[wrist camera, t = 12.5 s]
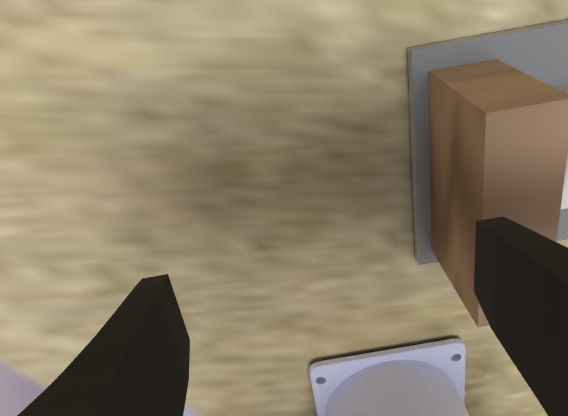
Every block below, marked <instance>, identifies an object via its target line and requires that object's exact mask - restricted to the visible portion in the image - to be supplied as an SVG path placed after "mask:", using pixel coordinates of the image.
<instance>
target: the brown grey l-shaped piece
mask: <svg viewBox="0 0 568 416" xmlns="http://www.w3.org/2000/svg"><path fill="white" fill-rule="evenodd" d="M428 74H429V129H430V184H431V240H432V251H433V253H434V255H435V256H436V258H437V260H438V261H439V263H440V265H441V266H442V268H443V270H444V271H445V273H446V275H447V276H448V278H449V280H450V281H451V283H452V285H453V286H454V288H455V290H456V291H457V293H458V295H459V296H460V298H461V300H462V302H463V303H464V305H465V307H466V308H467V310H468V312H469V313H470V315H471V317H472V318H473V320H474V322H475V323H476V325H477V327H481V326H487V325H489V323H488V321H487V319H486V317H485V315H484V313H483V310H482V308H481V306H480V304H479V302H478V300H477V297H476V295H475V293H474V266H475V236H476V221H479V220H485V219H491V218H496V217H505V218H507V219H510V220H512V221H514V222H516V223H518V224H520V225H523V226H525V227H527V228H529V229H531V230H533V231H535V232H537V233H539V234H541V235H543V236H545V237H547V238H549V239H551V240H553V241H555V242H557V234H558V226H559V218H560V210H561V209H567V208H568V86H562V87H556V88H554V87H552V86H550V85H548V84H546V83H544V82H542V81H540V80H538V79H536V78H534V77H532V76H530V75H528V74H525V73H523V72H521V71H519V70H517V69H515V68H513V67H511V66H509V65H507V64H505V63H503V62H501V61H499V60H497V59H492V60H487V61H481V62H475V63H470V64H464V65H458V66H453V67H447V68H441V69H436V70H430V71H428Z"/></svg>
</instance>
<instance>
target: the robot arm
mask: <svg viewBox="0 0 568 416" xmlns="http://www.w3.org/2000/svg"><path fill="white" fill-rule="evenodd" d="M474 293H475V295H476V297H477V300H478V302H479V304H480V306H481V308H482V310H483V313H484V315H485V317H486V319H487V321H488V323H489V325H490V327H491V329H492V330H493V332H494V333H495V335H496V337H497V338H498V340H499V341H500V343H501V344H502V346H503V347H504V349H505V350H506V352H507V354H508V355H509V357H510V358H511V360H512V361H513V363H514V364H515V366H516V367H517V369H518V370H519V372H520V373H521V375H522V376H523V378H524V379H525V381H526V382H527V384H528V385H529V387H530V388H531V390H532V391H533V393H534V394H535V396H536V397H537V399H538V401H539V402H540V404H541V405H542V407H543V408H544V410H545V411H546V413H547V415H548V416H568V248H567V247H565V246H563V245H561V244H559V243H557V242H555V241H553V240H551V239H549V238H547V237H545V236H543V235H541V234H539V233H537V232H535V231H533V230H531V229H529V228H527V227H525V226H523V225H520V224H518V223H516V222H514V221H512V220H510V219H507V218H505V217H496V218H491V219H485V220H479V221H476V236H475V266H474ZM189 351H190V339H189V336H188V333H187V330H186V327H185V324H184V321H183V318H182V315H181V312H180V309H179V306H178V303H177V300H176V297H175V294H174V291H173V288H172V285H171V282H170V279H169V276H168V274H166V275H160V276H155V277H149V278H143V279H141V281H140V282H139V283H138V284H137V285H136V286H135V288H134V289H133V290H132V291H131V293H130V294H129V295H128V296H127V298H126V299H125V300H124V301H123V303H122V304H121V305H120V306H119V308H118V309H117V310H116V311H115V313H114V314H113V315H112V316H111V318H110V319H109V320H108V321H107V322H106V324H105V325H104V326H103V327H102V328H101V330H100V331H99V332H98V333H97V335H96V336H95V337H94V338H93V339H92V340H91V342H90V343H89V344H88V345H87V346H86V347H85V348H84V349H83V350H82V351H81V353H80V354H79V355H78V356H77V357H76V358H75V359H74V360H73V361H72V362H71V364H70V365H69V366H68V367H67V368H66V369H65V370H64V371H63V372H62V373H61V374H60V375H59V377H58V378H57V379H56V380H55V381H54V382H53V383H52V384H51V385H50V386H49V387H48V388H47V389H46V390H45V391H43V392H42V393H41V394H40V395H39V396H38V397H37V398H36V399H35V400H34V401H33V402H32V403H31V404H30V405H28V406H27V407H26V408H25V409H24V410H23V411H22V412H21V413H20V414H19V415H17V416H183V412H184V406H185V400H186V393H187V387H188V380H189ZM455 354H456V355H455ZM453 355H455V356H453ZM465 359H466V347H465V345H464V343H463V341H462V340H461V339H458V338H457V339H448V340H442V341H436V342H431V343H425V344H419V345H413V346H407V347H401V348H395V349H389V350H383V351H377V352H372V353H366V354H360V355H354V356H348V357H342V358H336V359H330V360H324V361H319V362H315V363H313V364H312V365H311V366H310V367H309V373H310V378H311V384H312V389H313V394H314V400H315V405H316V411H317V416H469V414H468V412H467V410H466V408H465V406H464V399H465ZM319 377H323V378H319Z"/></svg>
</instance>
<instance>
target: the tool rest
mask: <svg viewBox="0 0 568 416" xmlns="http://www.w3.org/2000/svg"><path fill="white" fill-rule="evenodd" d="M407 54H408V80H409V107H410V134H411V161H412V188H413V215H414V241H415V258H416V260H417V262H418V264H419V265H420V264H426V263H432V262H437V261H438V260H437V258H436V256H435V255H434V253H433V251H432V240H431V184H430V129H429V74H428V71H430V70H436V69H441V68H447V67H453V66H458V65H464V64H470V63H475V62H481V61H487V60H492V59H497V60H499V61H501V62H503V63H505V64H507V65H509V66H511V67H513V68H515V69H517V70H519V71H521V72H523V73H525V74H528V75H530V76H532V77H534V78H536V79H538V80H540V81H542V82H544V83H546V84H548V85H550V86H552V87H554V88H556V87H562V86H568V19H567V20H561V21H556V22H550V23H544V24H539V25H533V26H527V27H522V28H516V29H511V30H505V31H499V32H494V33H488V34H482V35H477V36H471V37H465V38H460V39H454V40H448V41H443V42H437V43H432V44H426V45H420V46H415V47H409V48H407ZM566 239H568V208H567V209H561V210H560V218H559V226H558V234H557V241H560V240H566Z"/></svg>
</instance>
